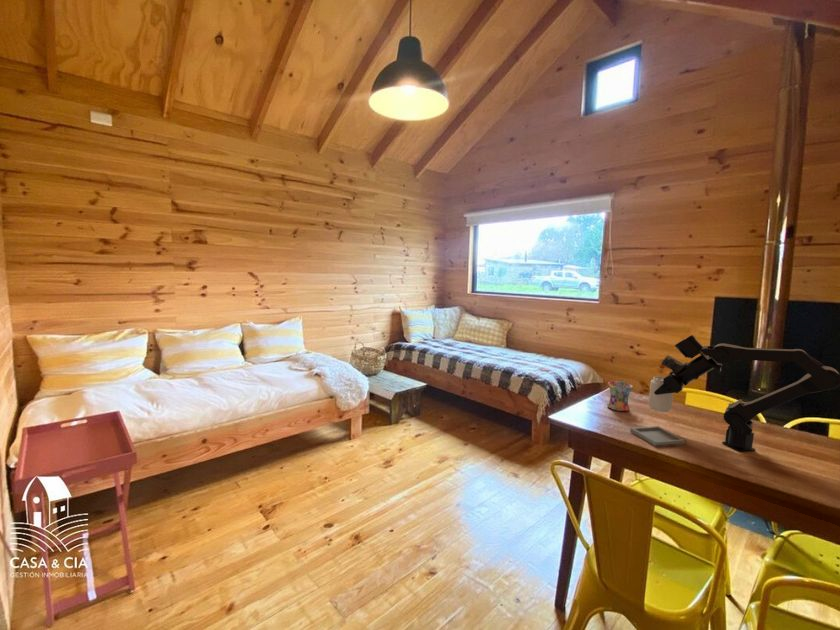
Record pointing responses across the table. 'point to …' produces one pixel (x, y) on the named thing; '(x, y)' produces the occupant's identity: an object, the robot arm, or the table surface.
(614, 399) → the mug
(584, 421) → the table surface
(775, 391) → the robot arm
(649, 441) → the slate dish
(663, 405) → the can
